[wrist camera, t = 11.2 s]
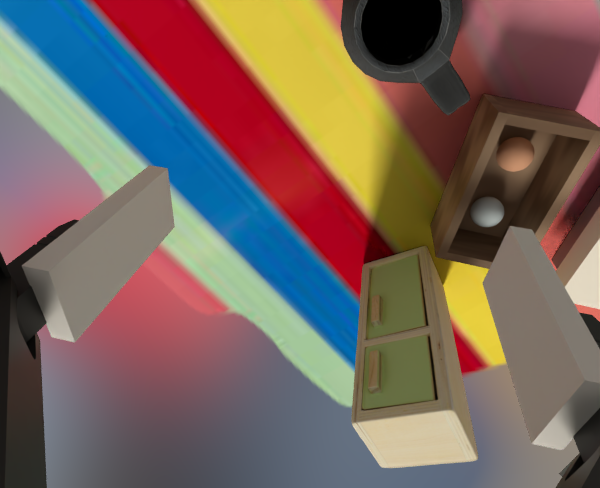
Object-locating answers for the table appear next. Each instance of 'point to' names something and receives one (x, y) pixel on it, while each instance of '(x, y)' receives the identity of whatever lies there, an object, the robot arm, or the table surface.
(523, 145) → the ball terracotta
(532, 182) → the box
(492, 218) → the ball bluegrey
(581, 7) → the table surface
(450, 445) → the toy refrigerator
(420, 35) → the mug
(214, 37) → the table surface
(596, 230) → the lid
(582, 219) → the block
